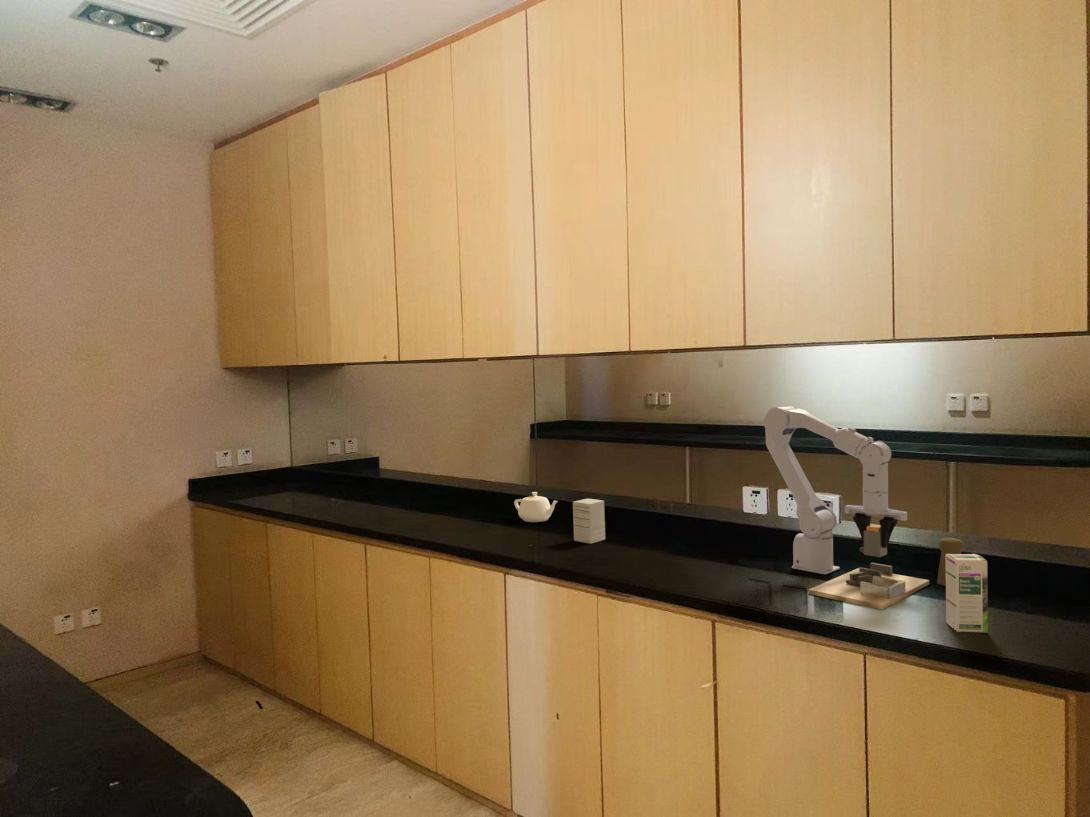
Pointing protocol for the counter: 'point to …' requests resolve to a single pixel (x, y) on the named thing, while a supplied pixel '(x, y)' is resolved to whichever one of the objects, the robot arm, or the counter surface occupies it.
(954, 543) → the cork
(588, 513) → the supplement box
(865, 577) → the middle clip
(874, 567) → the clip
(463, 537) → the counter surface
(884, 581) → the end holder
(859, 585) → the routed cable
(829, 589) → the board
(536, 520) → the teapot
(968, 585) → the syrup box
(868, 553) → the grey upright block
